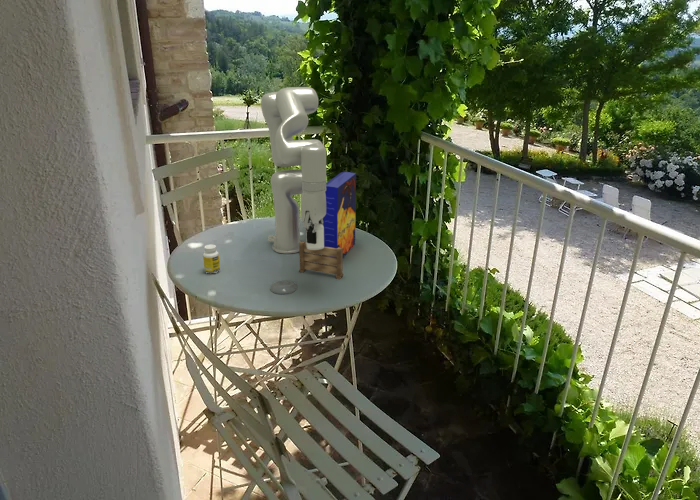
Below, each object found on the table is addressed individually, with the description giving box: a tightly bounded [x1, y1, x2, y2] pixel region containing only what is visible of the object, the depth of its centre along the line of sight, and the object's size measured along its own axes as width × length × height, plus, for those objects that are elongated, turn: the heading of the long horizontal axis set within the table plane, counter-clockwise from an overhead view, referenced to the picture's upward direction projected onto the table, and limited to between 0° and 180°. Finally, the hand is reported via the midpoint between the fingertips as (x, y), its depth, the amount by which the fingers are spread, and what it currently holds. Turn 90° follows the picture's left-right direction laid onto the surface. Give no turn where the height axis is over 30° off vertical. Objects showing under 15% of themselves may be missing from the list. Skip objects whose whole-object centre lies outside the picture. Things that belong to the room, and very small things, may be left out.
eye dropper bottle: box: [305, 220, 324, 250], centre depth 160 cm, size 4×6×12 cm
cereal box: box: [323, 171, 357, 259], centre depth 191 cm, size 22×6×30 cm, turn 162°
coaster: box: [269, 280, 298, 295], centre depth 169 cm, size 9×9×1 cm
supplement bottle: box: [202, 244, 221, 274], centre depth 179 cm, size 5×5×10 cm
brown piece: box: [298, 240, 344, 280], centre depth 177 cm, size 16×3×11 cm, turn 69°
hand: (315, 239), depth 161 cm, fingers closed on eye dropper bottle, 4 cm apart
